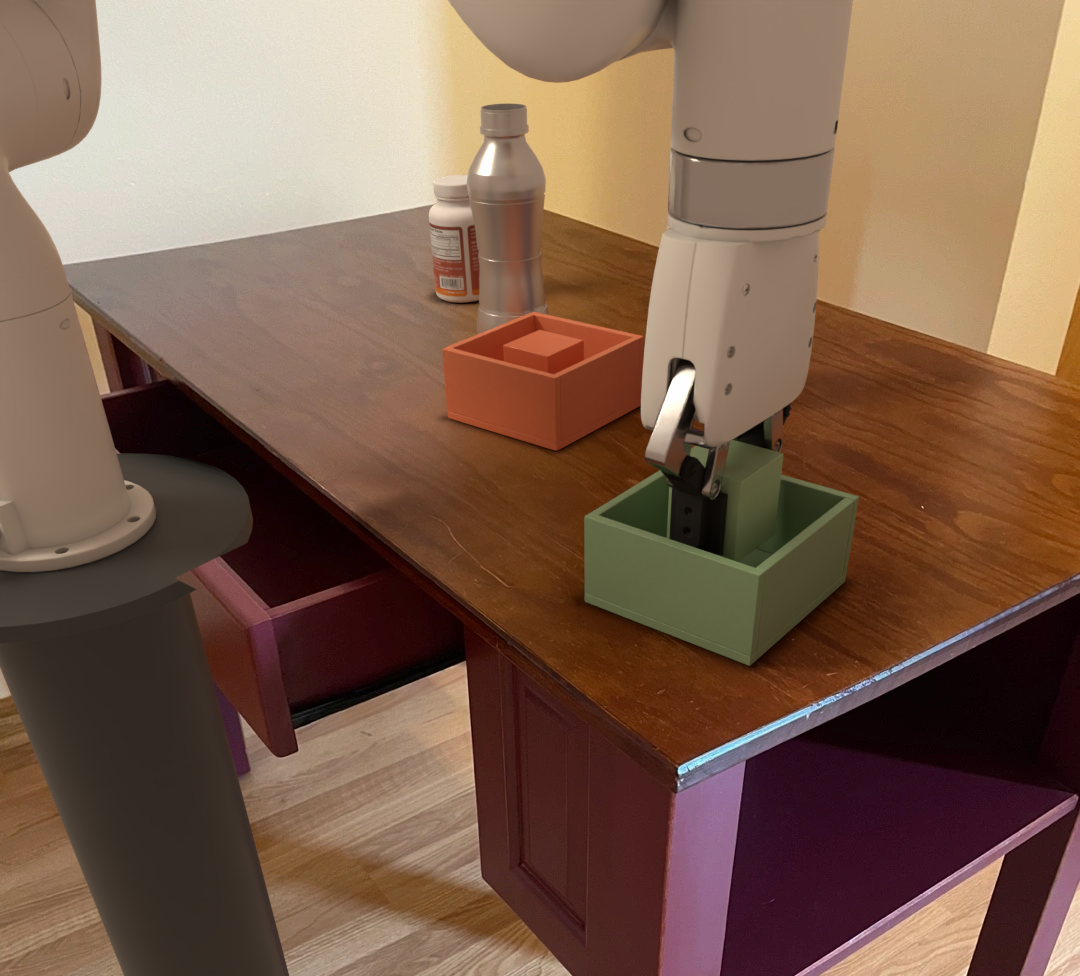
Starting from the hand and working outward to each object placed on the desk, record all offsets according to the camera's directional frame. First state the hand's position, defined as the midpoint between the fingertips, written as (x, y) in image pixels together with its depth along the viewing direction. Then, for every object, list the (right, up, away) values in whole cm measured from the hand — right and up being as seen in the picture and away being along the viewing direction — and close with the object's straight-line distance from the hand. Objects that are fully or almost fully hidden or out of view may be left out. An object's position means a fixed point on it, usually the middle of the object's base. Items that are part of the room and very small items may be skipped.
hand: (720, 533), depth 62 cm
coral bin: (-10, +14, +25) cm, 31 cm away
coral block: (-10, +15, +25) cm, 31 cm away
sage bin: (0, -3, +2) cm, 4 cm away
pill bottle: (-18, +34, +51) cm, 64 cm away
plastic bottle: (-13, +22, +35) cm, 43 cm away
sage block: (0, 0, 0) cm, 0 cm away
